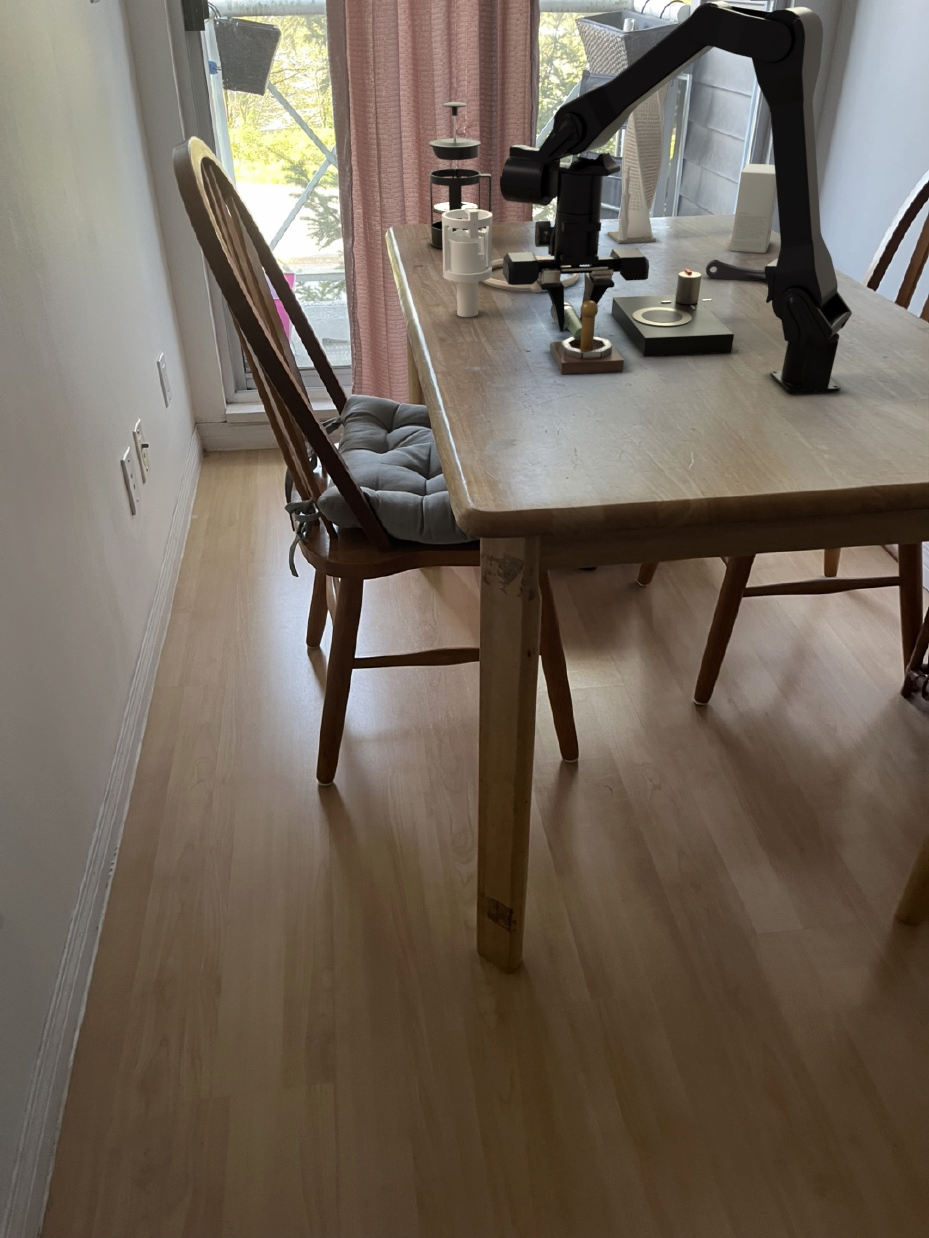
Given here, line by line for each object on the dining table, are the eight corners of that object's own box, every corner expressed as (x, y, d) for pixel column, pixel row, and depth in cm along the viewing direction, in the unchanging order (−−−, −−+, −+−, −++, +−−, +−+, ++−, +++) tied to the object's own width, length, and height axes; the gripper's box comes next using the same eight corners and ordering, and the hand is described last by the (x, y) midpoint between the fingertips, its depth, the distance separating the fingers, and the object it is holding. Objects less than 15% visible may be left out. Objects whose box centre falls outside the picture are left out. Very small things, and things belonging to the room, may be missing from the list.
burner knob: (700, 304, 135) (704, 274, 132) (679, 305, 134) (682, 275, 132) (693, 297, 137) (697, 268, 135) (672, 298, 137) (676, 269, 135)
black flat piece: (704, 265, 161) (706, 248, 159) (794, 269, 158) (797, 252, 157) (705, 290, 149) (708, 272, 147) (803, 295, 147) (807, 276, 145)
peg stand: (623, 371, 120) (628, 309, 116) (561, 374, 120) (564, 311, 115) (608, 350, 127) (613, 290, 122) (549, 352, 126) (552, 292, 121)
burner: (699, 325, 127) (699, 324, 127) (641, 328, 126) (641, 326, 126) (681, 307, 134) (681, 306, 134) (626, 309, 133) (626, 308, 133)
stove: (743, 352, 126) (747, 332, 124) (643, 356, 125) (645, 336, 123) (701, 310, 141) (703, 292, 139) (610, 314, 139) (612, 295, 138)
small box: (734, 240, 175) (746, 163, 167) (770, 243, 173) (783, 165, 165) (729, 251, 168) (740, 171, 161) (765, 253, 167) (779, 173, 159)
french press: (424, 250, 170) (420, 106, 157) (428, 237, 178) (425, 99, 164) (490, 251, 169) (491, 106, 156) (491, 238, 177) (492, 99, 164)
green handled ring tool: (614, 369, 121) (616, 342, 119) (566, 371, 120) (568, 344, 118) (579, 317, 138) (581, 293, 136) (537, 319, 138) (538, 295, 136)
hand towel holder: (569, 236, 161) (596, 268, 144) (568, 262, 163) (594, 297, 146) (470, 238, 159) (486, 271, 142) (470, 265, 162) (486, 301, 145)
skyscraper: (605, 232, 180) (618, 63, 164) (646, 230, 181) (662, 61, 165) (619, 243, 173) (634, 67, 157) (661, 241, 174) (680, 66, 158)
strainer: (451, 323, 136) (449, 213, 128) (438, 309, 142) (436, 202, 133) (497, 318, 138) (499, 209, 129) (483, 304, 143) (483, 199, 135)
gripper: (633, 195, 129) (623, 310, 138) (497, 199, 127) (496, 315, 136) (656, 213, 120) (643, 335, 129) (510, 218, 118) (507, 341, 127)
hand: (571, 330), depth 130 cm, fingers open, 3 cm apart
